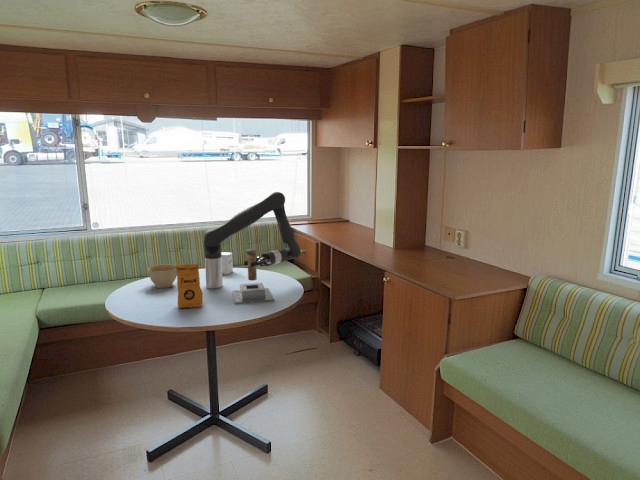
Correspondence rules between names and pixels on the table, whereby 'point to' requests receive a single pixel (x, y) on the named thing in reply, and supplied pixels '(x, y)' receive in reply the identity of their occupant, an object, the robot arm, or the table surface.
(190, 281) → the coffee package
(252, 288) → the socket block
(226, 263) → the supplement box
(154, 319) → the table surface
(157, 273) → the planter bowl
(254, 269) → the walnut pin
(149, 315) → the table surface
